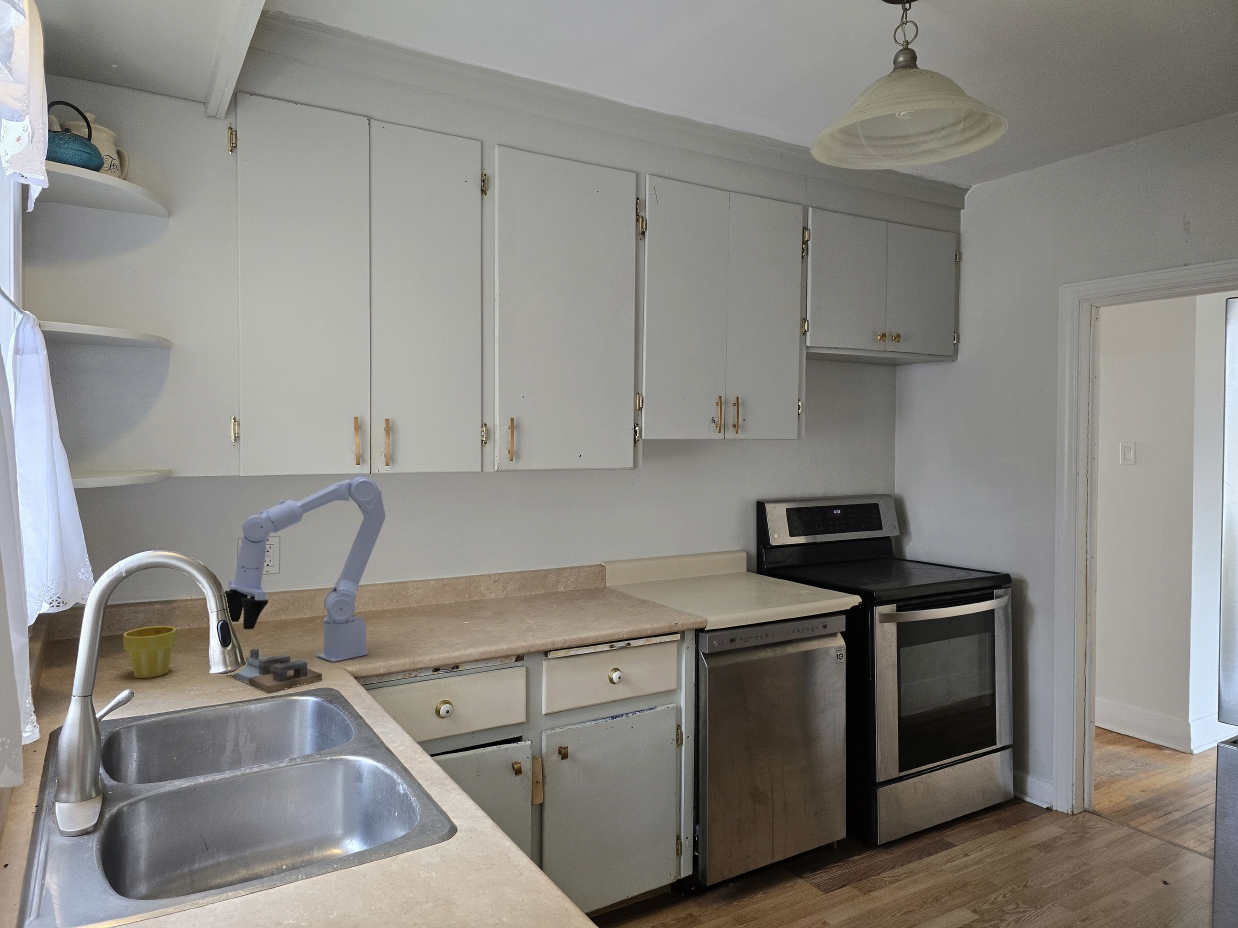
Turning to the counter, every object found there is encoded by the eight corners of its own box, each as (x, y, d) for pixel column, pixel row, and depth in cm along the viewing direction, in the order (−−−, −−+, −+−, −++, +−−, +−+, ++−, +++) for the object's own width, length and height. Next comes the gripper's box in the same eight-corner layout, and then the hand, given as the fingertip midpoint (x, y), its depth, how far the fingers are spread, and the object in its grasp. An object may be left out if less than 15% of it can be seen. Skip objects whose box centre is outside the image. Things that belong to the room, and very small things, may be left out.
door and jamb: (273, 662, 197) (273, 643, 196) (321, 680, 182) (321, 660, 182) (222, 672, 187) (222, 653, 187) (268, 693, 173) (268, 671, 173)
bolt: (257, 660, 192) (257, 648, 191) (281, 670, 184) (280, 656, 184) (247, 663, 190) (247, 650, 190) (270, 672, 183) (270, 658, 182)
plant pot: (117, 682, 180) (117, 637, 180) (131, 669, 190) (130, 627, 190) (171, 678, 183) (170, 634, 183) (181, 666, 193) (180, 624, 192)
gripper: (219, 561, 195) (210, 618, 194) (247, 572, 185) (238, 632, 185) (248, 561, 200) (239, 618, 200) (277, 572, 191) (268, 631, 190)
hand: (241, 625), depth 193 cm, fingers open, 7 cm apart
